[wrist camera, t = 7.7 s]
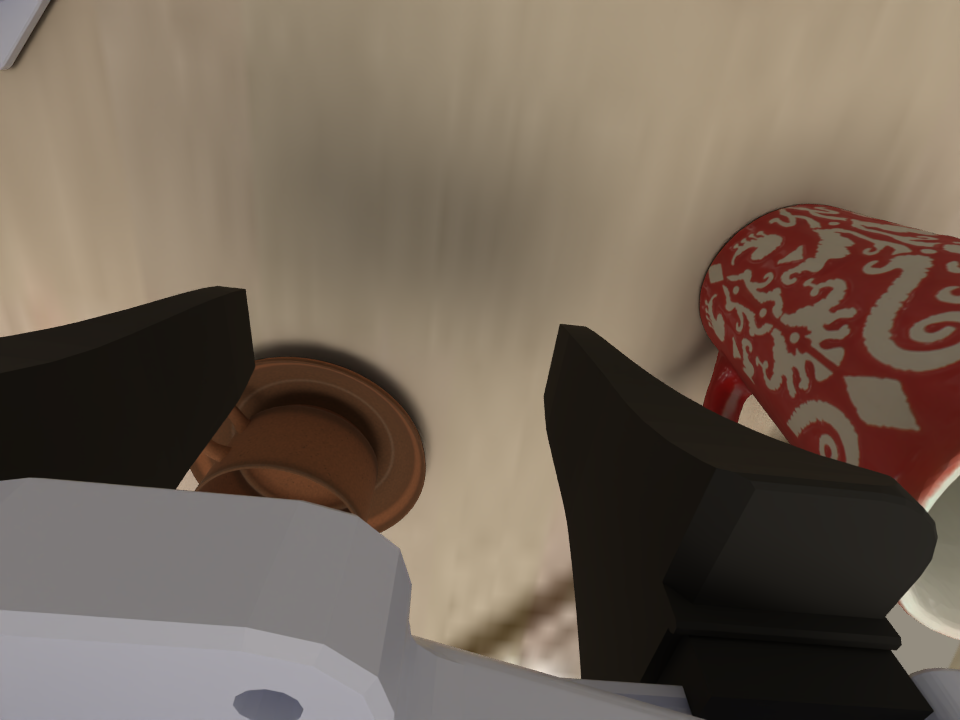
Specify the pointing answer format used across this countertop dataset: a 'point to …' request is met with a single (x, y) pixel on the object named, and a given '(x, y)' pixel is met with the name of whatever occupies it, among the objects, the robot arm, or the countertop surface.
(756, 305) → the mug
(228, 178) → the countertop surface
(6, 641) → the robot arm
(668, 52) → the countertop surface
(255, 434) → the cup and saucer
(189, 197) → the countertop surface
